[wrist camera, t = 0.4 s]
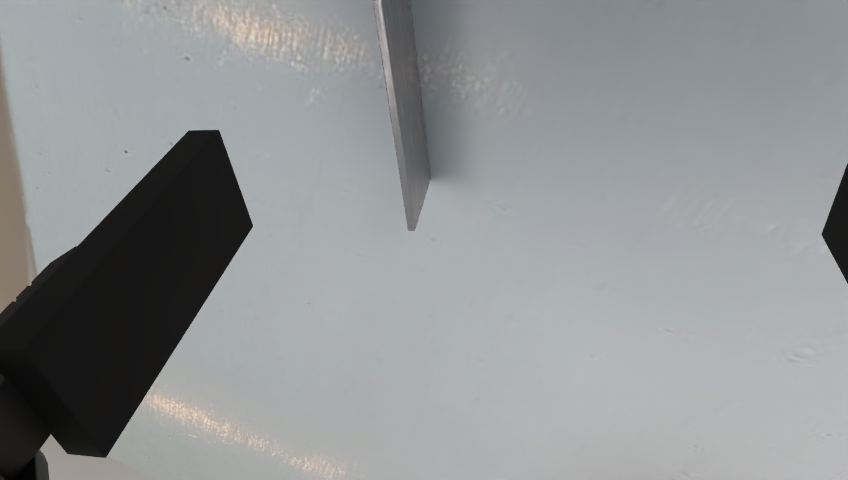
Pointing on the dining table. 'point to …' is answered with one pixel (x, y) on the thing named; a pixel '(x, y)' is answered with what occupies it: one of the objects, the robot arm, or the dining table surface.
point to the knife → (404, 102)
